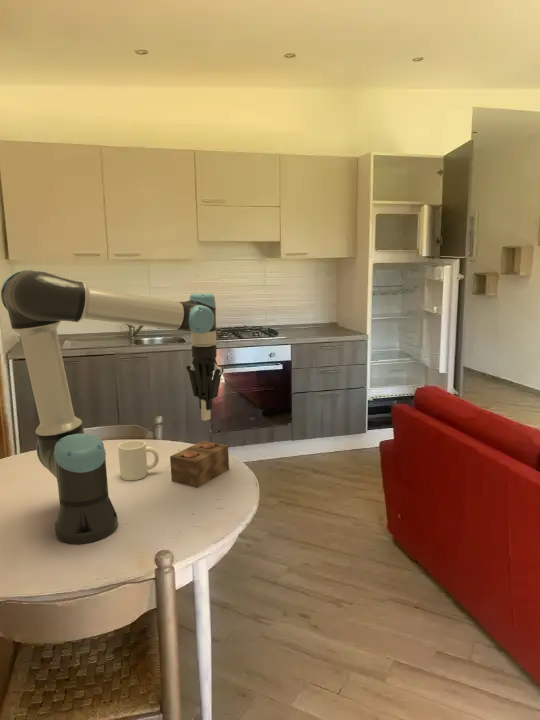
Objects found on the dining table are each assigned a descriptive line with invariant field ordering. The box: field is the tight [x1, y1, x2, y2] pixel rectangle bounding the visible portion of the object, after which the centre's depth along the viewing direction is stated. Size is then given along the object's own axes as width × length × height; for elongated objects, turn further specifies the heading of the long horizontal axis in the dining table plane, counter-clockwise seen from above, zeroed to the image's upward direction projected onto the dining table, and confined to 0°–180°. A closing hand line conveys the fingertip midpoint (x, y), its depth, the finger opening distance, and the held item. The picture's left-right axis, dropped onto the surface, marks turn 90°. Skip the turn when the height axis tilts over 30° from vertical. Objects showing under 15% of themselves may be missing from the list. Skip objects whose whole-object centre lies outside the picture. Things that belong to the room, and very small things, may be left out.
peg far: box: [202, 442, 215, 450], centre depth 175 cm, size 4×4×8 cm
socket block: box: [169, 440, 230, 489], centre depth 171 cm, size 16×10×8 cm, turn 149°
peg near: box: [184, 452, 197, 459], centre depth 167 cm, size 4×4×8 cm
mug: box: [117, 439, 160, 482], centre depth 172 cm, size 12×8×10 cm
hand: (206, 419), depth 172 cm, fingers closed
